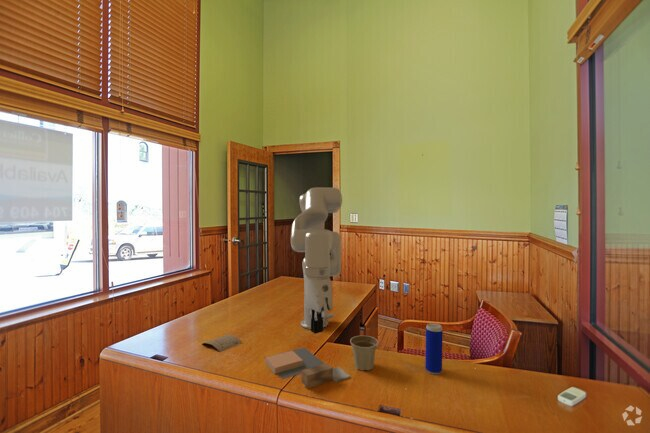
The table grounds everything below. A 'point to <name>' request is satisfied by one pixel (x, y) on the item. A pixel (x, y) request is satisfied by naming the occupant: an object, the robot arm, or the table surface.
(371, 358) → the flower pot
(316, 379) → the brown piece
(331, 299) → the robot arm
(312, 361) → the mat
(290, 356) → the tile
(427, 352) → the beverage can
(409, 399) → the table surface
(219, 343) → the clay tablet
